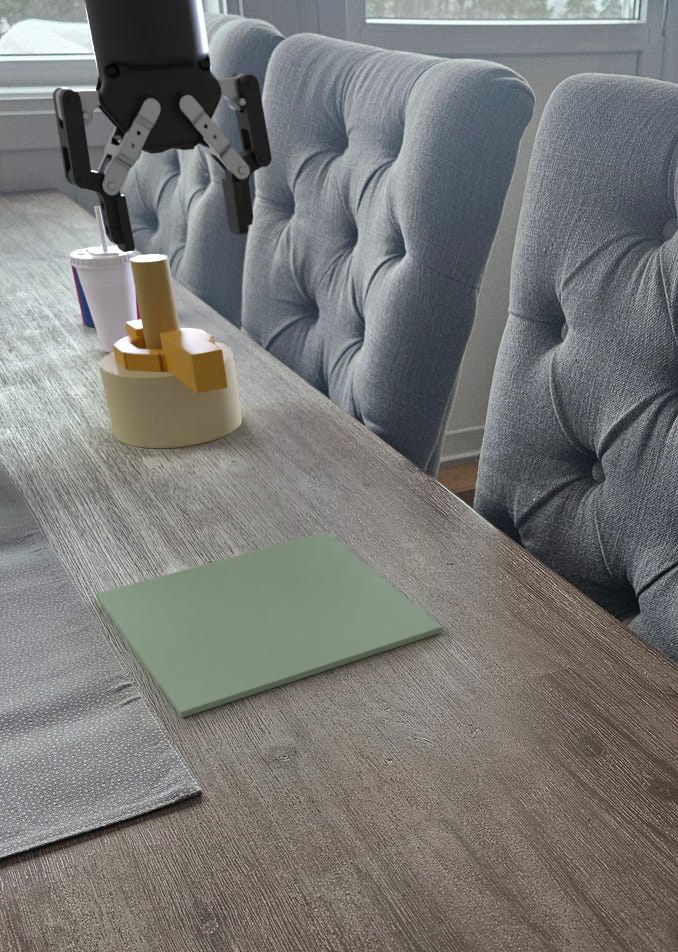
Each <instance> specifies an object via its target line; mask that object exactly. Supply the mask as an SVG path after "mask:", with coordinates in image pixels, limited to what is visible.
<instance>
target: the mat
mask: <svg viewBox="0 0 678 952" xmlns="http://www.w3.org/2000/svg"><path fill="white" fill-rule="evenodd" d="M95 596H96V599H97V601H98V603H99V604H100V605H101V606H102V608H103V610H104V611H105V612H106V614H107V615H108V616H109V618H110V619H111V620H112V622H113V624H114V625H115V627H116V628H117V629H118V631H119V632H120V633H121V635H122V636H123V637H124V639H125V640H126V642H127V644H128V645H129V646H130V647H131V649H132V651H133V652H134V653H135V655H136V656H137V657H138V659H139V660H140V661H141V663H142V664H143V665H144V667H145V669H146V670H147V671H148V673H149V674H150V676H151V677H152V679H153V680H154V681H155V683H156V684H157V685H158V687H159V688H160V689H161V691H162V693H163V694H164V695H165V697H166V698H167V699H168V701H169V703H170V704H171V705H172V707H173V708H174V709H175V711H176V712H177V713H178V714H179V716H180V718H181V719H183V718H186V717H189V716H193V715H195V714H198V713H201V712H205V711H207V710H211V709H214V708H216V707H220V706H223V705H225V704H229V703H231V702H235V701H238V700H241V699H244V698H247V697H250V696H253V695H257V694H259V693H263V692H265V691H268V690H272V689H274V688H277V687H280V686H283V685H287V684H289V683H292V682H295V681H299V680H301V679H305V678H308V677H311V676H315V675H317V674H320V673H323V672H326V671H329V670H333V669H336V668H339V667H342V666H345V665H347V664H350V663H351V664H352V663H353V662H357V661H360V660H362V659H365V658H368V657H372V656H375V655H377V654H381V653H383V652H386V651H390V650H393V649H396V648H399V647H402V646H405V645H408V644H412V643H414V642H417V641H420V640H423V639H428V638H429V637H432V636H436V635H438V634H442V633H443V626H442V625H440V624H439V623H438V622H437V621H436V620H434V619H433V618H432V617H431V616H430V615H428V614H427V613H426V612H424V611H423V610H422V609H421V608H420V607H418V606H417V605H416V604H415V603H414V602H412V601H411V600H410V599H409V598H407V597H406V596H405V595H404V594H403V593H401V592H400V591H399V590H398V589H396V588H395V587H394V586H393V585H391V583H389V582H388V581H387V580H386V579H385V578H383V577H382V576H380V574H378V573H377V572H376V571H375V570H373V569H372V568H371V567H370V566H368V564H366V563H365V562H364V561H363V560H362V559H360V558H359V557H358V556H356V555H355V554H354V553H353V552H351V551H350V550H349V549H348V548H347V547H345V546H344V545H343V544H342V543H340V541H338V540H337V539H335V537H333V536H332V535H331V534H329V533H328V532H327V531H324V532H320V533H316V534H312V535H309V536H305V537H301V538H297V539H293V540H289V541H287V542H283V543H279V544H275V545H272V546H268V547H264V548H260V549H256V550H253V551H249V552H246V553H241V554H238V555H234V556H231V557H226V558H223V559H220V560H215V561H213V562H209V563H205V564H201V565H197V566H194V567H189V568H186V569H182V570H179V571H175V572H171V573H167V574H164V575H160V576H156V577H152V578H149V579H145V580H141V581H137V582H134V583H130V584H127V585H124V586H123V585H122V586H119V587H116V588H112V589H108V590H105V591H100V592H96V593H95Z"/></svg>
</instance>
